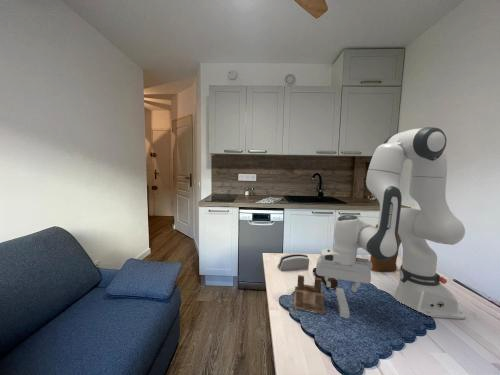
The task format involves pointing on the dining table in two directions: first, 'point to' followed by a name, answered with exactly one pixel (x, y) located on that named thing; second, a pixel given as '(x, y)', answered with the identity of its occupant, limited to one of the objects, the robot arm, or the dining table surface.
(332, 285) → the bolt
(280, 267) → the grey napkin holder
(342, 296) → the steel pin
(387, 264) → the pancake mix bag
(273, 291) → the dining table surface
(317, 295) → the clevis block
